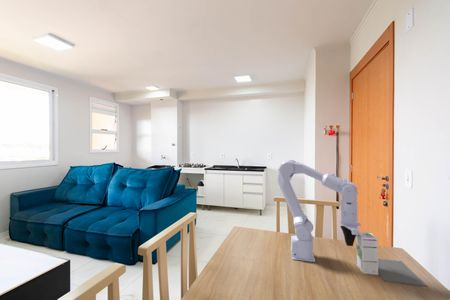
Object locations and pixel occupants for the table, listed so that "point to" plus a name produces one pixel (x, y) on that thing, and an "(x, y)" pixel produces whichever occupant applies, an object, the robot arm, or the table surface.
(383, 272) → the mat
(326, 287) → the table surface
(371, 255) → the syrup box
